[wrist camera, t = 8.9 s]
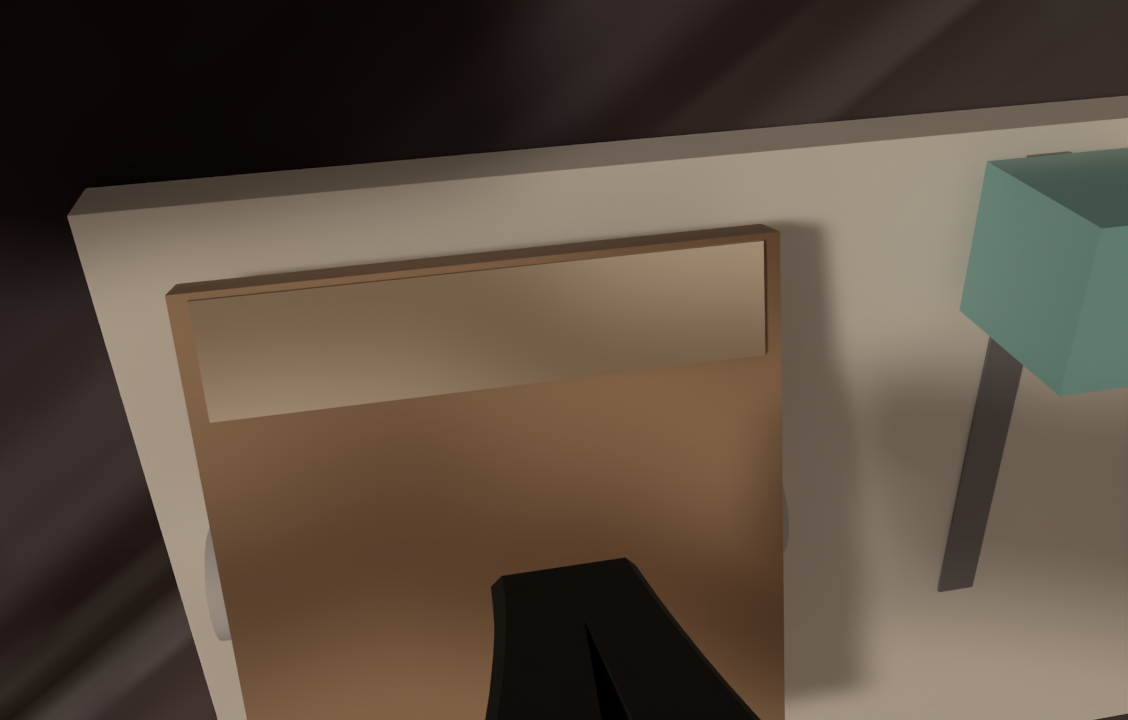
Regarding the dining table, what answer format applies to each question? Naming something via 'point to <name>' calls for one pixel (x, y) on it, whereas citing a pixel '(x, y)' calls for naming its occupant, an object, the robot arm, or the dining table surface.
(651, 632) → the robot arm
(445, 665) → the panel
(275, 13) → the dining table surface
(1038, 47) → the dining table surface
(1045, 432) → the panel
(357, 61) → the dining table surface
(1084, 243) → the teal slider
